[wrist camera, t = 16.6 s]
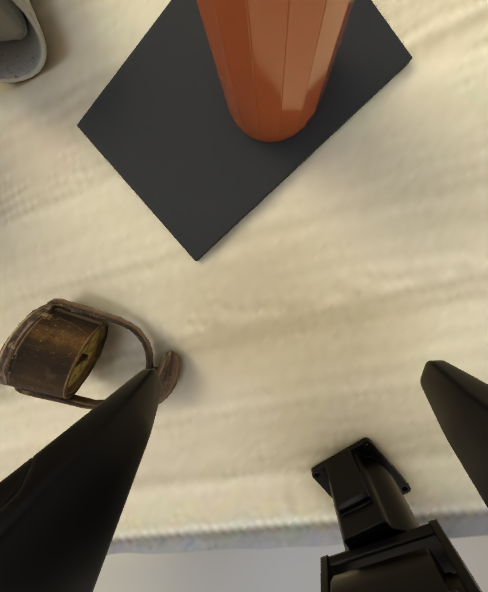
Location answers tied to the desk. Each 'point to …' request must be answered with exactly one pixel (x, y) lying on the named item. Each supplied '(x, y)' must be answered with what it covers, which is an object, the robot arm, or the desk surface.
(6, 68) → the ceramic mug
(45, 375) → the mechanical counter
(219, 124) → the felt pad
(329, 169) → the desk surface
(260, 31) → the pencil cup
